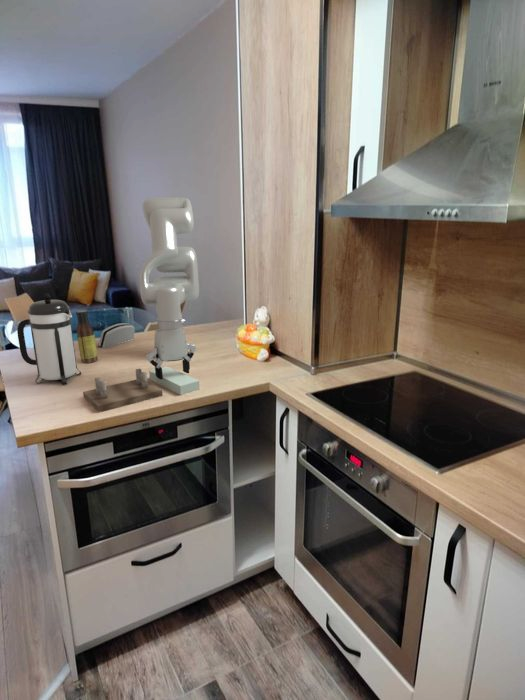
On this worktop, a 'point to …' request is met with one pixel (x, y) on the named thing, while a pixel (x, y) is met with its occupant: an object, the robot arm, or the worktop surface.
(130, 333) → the napkin holder
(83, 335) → the sauce bottle
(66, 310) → the coffee press
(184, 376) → the shelf board
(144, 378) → the peg stand
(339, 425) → the worktop surface
